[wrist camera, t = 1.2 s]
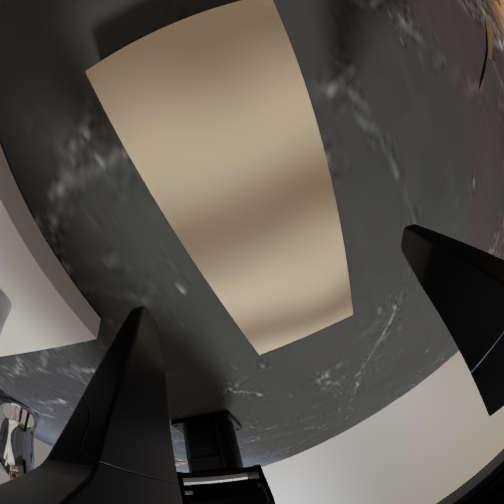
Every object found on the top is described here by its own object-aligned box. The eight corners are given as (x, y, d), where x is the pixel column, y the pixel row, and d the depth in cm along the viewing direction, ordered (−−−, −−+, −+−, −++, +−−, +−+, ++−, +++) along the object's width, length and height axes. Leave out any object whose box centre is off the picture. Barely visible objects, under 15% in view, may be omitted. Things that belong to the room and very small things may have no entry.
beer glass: (-11, 389, 17) (-22, 494, 5) (32, 405, 19) (29, 518, 8) (8, 410, 20) (2, 501, 8) (47, 423, 23) (48, 519, 11)
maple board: (336, 286, 17) (353, 314, 15) (250, 323, 17) (259, 354, 15) (252, 10, 7) (269, -7, 5) (107, 72, 8) (85, 71, 6)
